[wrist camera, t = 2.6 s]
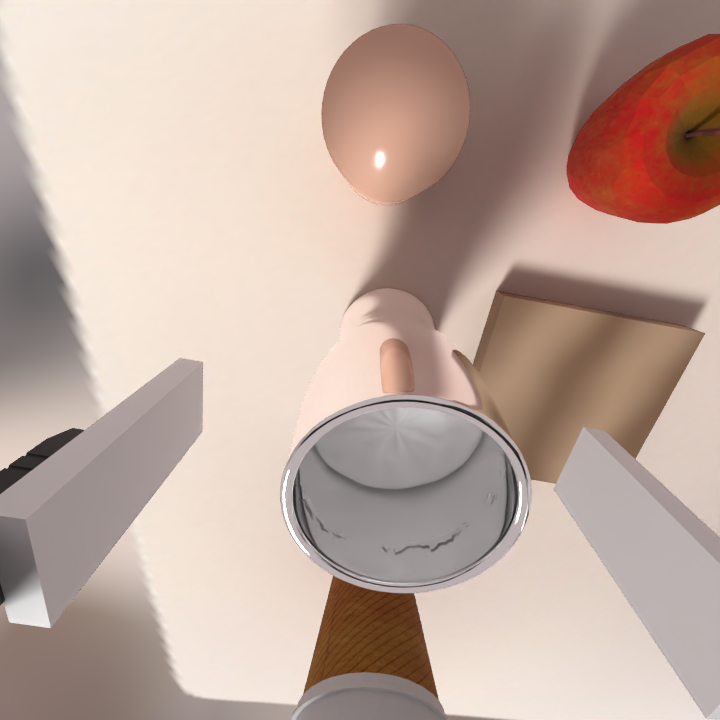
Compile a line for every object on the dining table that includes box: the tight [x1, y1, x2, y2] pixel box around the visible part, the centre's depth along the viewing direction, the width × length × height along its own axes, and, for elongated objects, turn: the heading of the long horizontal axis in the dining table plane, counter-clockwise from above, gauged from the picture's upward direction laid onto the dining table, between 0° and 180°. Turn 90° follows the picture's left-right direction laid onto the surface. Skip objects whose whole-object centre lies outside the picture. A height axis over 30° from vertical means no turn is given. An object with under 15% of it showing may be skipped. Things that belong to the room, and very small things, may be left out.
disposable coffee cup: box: [291, 576, 448, 720], centre depth 26 cm, size 10×10×12 cm
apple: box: [567, 34, 720, 223], centre depth 16 cm, size 6×6×8 cm
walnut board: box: [473, 291, 705, 484], centre depth 24 cm, size 12×12×2 cm
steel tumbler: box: [280, 288, 532, 593], centre depth 16 cm, size 7×7×15 cm
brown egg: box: [322, 24, 470, 206], centre depth 16 cm, size 5×5×8 cm
